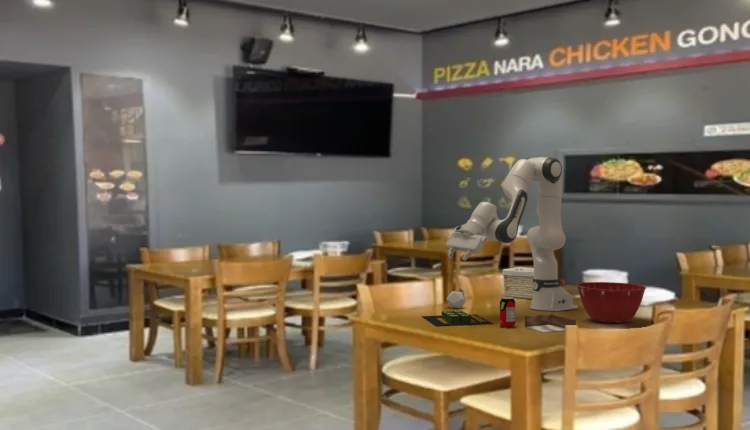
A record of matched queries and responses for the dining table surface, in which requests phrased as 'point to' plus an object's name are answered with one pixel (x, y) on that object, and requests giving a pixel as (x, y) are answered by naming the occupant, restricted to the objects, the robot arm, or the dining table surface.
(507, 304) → the beverage can
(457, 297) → the die
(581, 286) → the mixing bowl
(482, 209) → the robot arm
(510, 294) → the storage basket
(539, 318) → the corner fence
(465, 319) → the sushi
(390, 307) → the dining table surface
